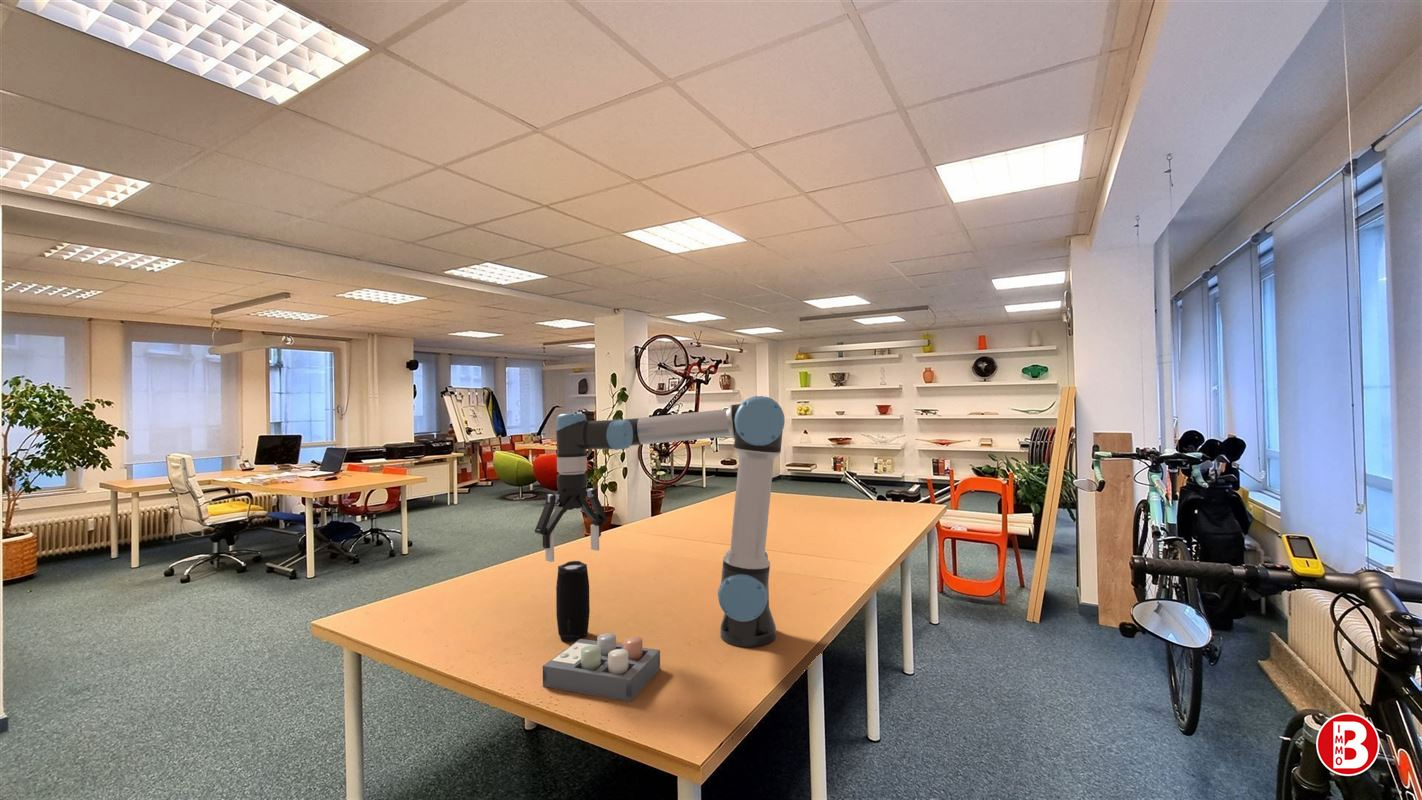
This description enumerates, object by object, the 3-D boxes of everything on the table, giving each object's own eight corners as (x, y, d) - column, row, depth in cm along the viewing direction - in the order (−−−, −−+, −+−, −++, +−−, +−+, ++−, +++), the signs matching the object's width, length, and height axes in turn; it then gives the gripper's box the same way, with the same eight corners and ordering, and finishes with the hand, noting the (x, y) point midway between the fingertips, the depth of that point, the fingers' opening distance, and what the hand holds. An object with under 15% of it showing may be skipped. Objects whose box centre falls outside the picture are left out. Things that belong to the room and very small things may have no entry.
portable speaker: (569, 628, 152) (568, 559, 152) (596, 632, 148) (596, 562, 149) (549, 639, 144) (548, 567, 145) (577, 645, 140) (576, 570, 141)
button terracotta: (645, 657, 125) (645, 637, 125) (637, 665, 121) (637, 645, 121) (629, 654, 127) (629, 635, 127) (620, 663, 123) (620, 643, 123)
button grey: (619, 653, 128) (619, 634, 128) (610, 661, 124) (610, 641, 124) (603, 651, 129) (603, 632, 129) (593, 659, 125) (593, 639, 125)
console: (660, 669, 126) (659, 648, 126) (630, 701, 112) (630, 678, 112) (580, 656, 133) (580, 637, 133) (542, 686, 119) (542, 664, 119)
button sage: (604, 666, 121) (604, 646, 121) (594, 675, 117) (593, 654, 117) (587, 664, 122) (587, 644, 123) (577, 672, 118) (576, 652, 118)
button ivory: (632, 670, 119) (631, 650, 119) (622, 680, 115) (622, 659, 115) (614, 668, 120) (614, 648, 120) (604, 677, 116) (604, 656, 116)
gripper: (602, 467, 150) (603, 543, 149) (519, 476, 131) (521, 563, 130) (619, 469, 145) (620, 547, 144) (535, 478, 126) (537, 568, 125)
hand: (573, 555), depth 137 cm, fingers open, 13 cm apart
